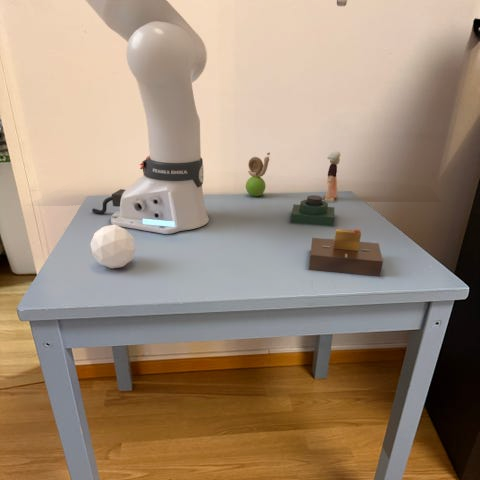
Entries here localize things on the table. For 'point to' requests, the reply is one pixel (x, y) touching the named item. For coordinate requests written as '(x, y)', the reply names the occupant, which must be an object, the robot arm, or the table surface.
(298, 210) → the block
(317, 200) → the bell button
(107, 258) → the geometric ball
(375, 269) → the plate
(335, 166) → the grandmother figurine
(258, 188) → the snail figurine
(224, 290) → the table surface
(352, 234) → the lock turn
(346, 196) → the table surface
